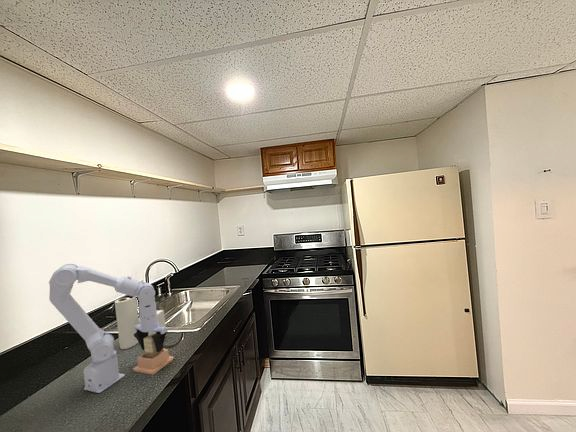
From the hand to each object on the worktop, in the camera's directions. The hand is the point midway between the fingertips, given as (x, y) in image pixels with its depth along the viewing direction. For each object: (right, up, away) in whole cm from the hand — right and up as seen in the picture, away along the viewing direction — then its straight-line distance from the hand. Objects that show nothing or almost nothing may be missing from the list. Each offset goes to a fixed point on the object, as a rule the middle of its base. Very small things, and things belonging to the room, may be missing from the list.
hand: (152, 349), depth 102 cm
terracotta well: (+1, -6, 0) cm, 6 cm away
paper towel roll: (-19, -7, +18) cm, 27 cm away
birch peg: (+1, -5, 0) cm, 5 cm away
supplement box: (-9, -6, +21) cm, 24 cm away
